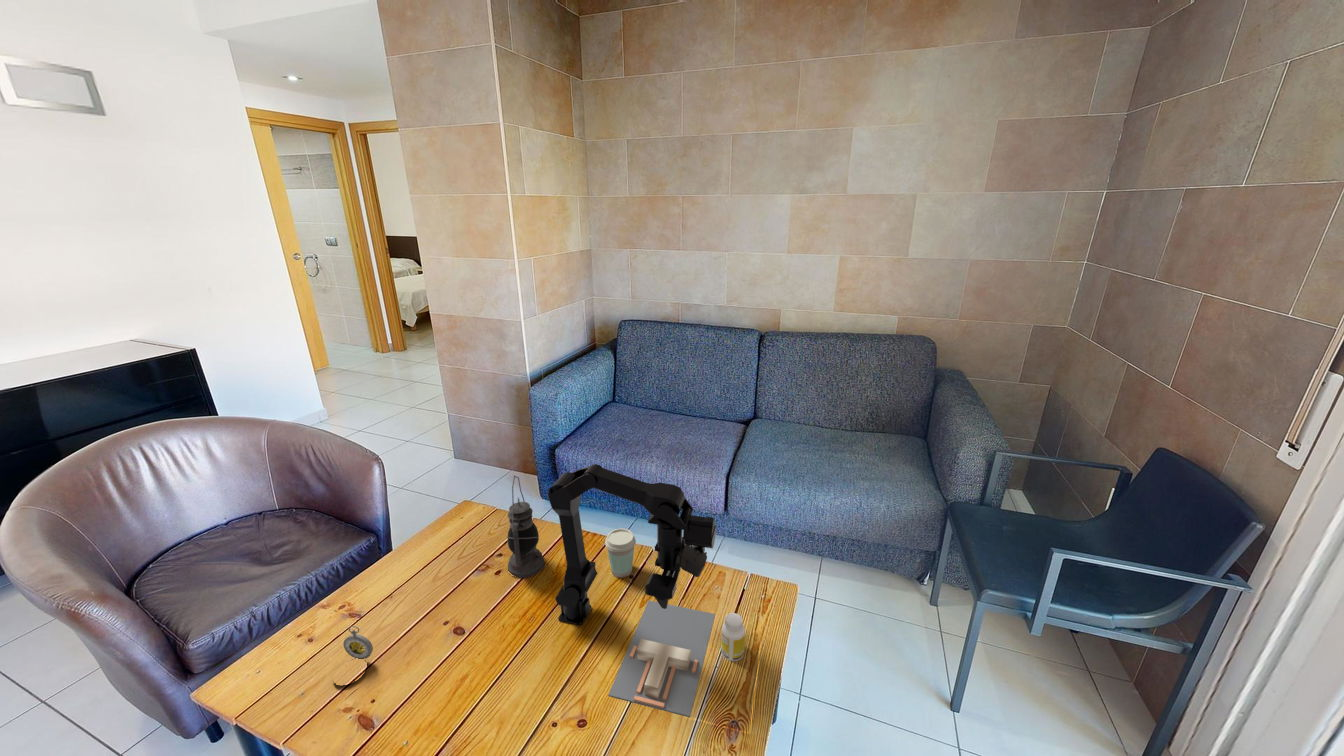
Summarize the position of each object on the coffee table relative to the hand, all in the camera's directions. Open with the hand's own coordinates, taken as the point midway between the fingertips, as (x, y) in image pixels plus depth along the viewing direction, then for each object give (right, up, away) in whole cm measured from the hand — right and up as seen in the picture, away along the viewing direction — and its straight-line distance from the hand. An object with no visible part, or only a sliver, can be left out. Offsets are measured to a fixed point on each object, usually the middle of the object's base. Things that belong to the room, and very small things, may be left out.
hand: (669, 593), depth 118 cm
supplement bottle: (+15, -13, -2) cm, 20 cm away
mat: (-1, -13, -2) cm, 13 cm away
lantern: (-42, -4, +27) cm, 50 cm away
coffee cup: (-14, -4, +25) cm, 29 cm away
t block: (-2, -15, -8) cm, 17 cm away
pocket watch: (-71, -15, -6) cm, 73 cm away
